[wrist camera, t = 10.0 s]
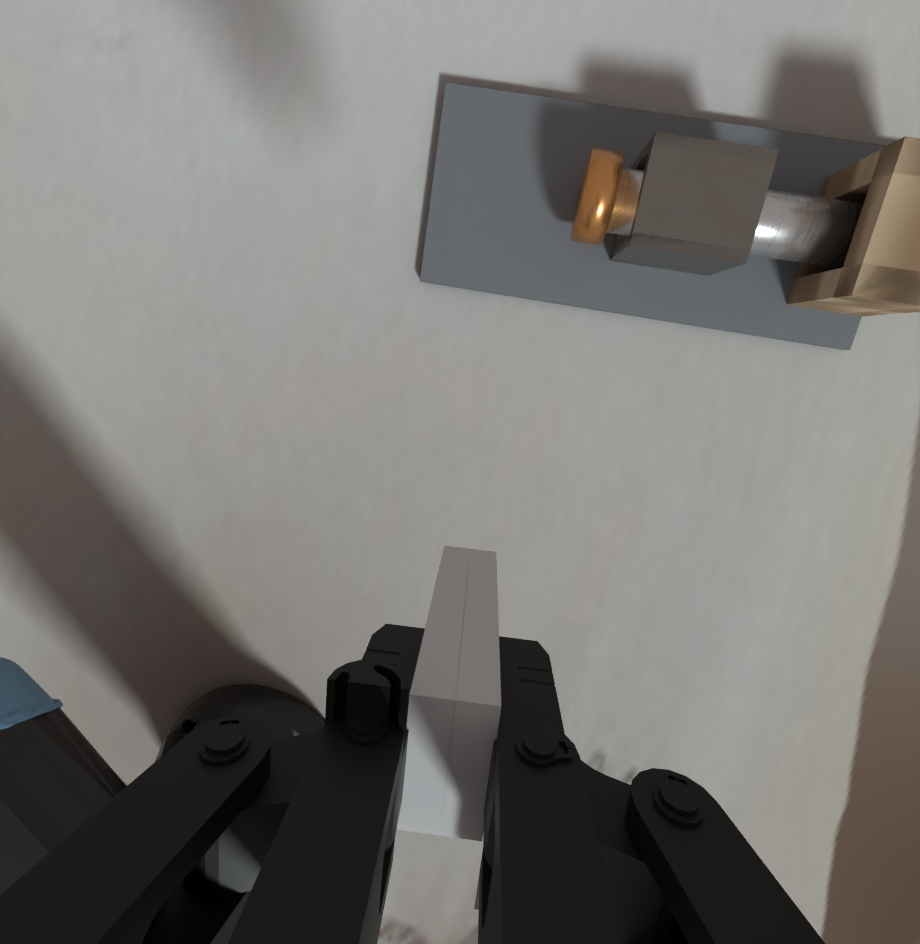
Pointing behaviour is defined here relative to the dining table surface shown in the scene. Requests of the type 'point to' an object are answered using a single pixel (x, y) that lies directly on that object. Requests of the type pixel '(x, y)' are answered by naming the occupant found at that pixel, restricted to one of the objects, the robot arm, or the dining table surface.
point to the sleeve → (696, 204)
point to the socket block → (872, 238)
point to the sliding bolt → (777, 235)
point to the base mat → (587, 265)
